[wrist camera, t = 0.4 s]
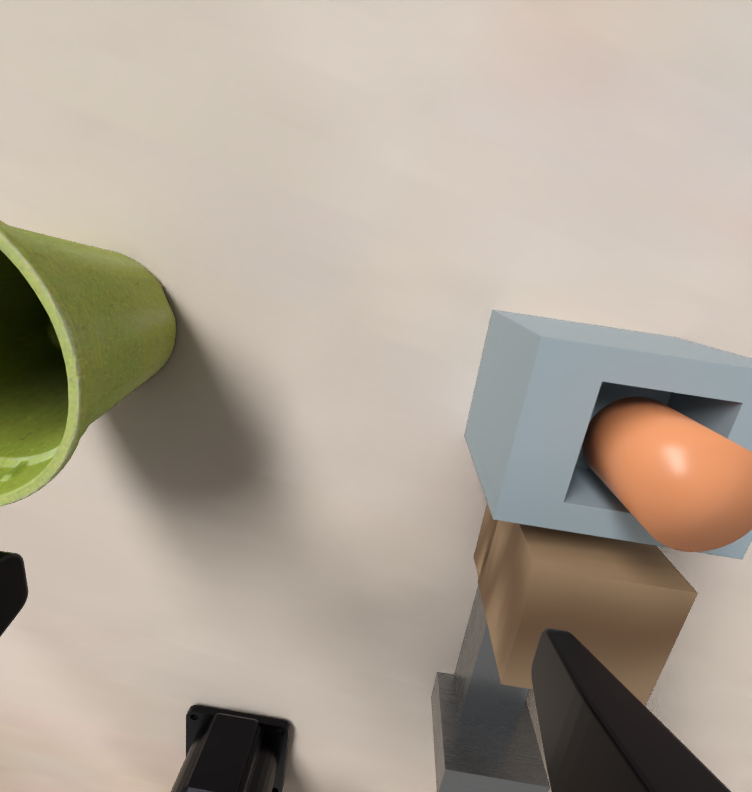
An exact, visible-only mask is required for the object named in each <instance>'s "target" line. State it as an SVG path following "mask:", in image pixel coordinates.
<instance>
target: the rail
mask: <svg viewBox="0 0 752 792" xmlns="http://www.w3.org/2000/svg"><path fill="white" fill-rule="evenodd" d="M528 691H529V689H527V688H521V687H515V686H509V685H503V684H501V682H500V677H499V673H498V668H497V664H496V660H495V655H494V651H493V646H492V642H491V638H490V633H489V629H488V624H487V620H486V616H485V611H484V607H483V602H482V598H481V594H480V589H479V585H478V588H477V592H476V596H475V600H474V603H473V607H472V611H471V615H470V618H469V622H468V626H467V630H466V633H465V637H464V641H463V645H462V648H461V652H460V656H459V660H458V663H457V667H456V671H455V675H450V674H444V673H438V672H437V676H436V680H435V684H434V688H433V692H432V696H431V700H432V717H433V733H434V750H435V767H436V783H437V792H548V791H549V788H550V786H549V782H548V779H547V775H546V772H545V768H544V764H543V761H542V757H541V753H540V750H539V746H538V743H537V739H536V735H535V732H534V728H533V724H532V721H531V717H530V714H529V710H528V706H527V703H526V697H527V694H528Z"/></svg>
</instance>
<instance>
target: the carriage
mask: <svg viewBox="0 0 752 792" xmlns="http://www.w3.org/2000/svg"><path fill="white" fill-rule="evenodd" d="M474 560H475V564H476V569H477V573H478V577H479V579H478V585H479V589H480V594H481V598H482V602H483V607H484V611H485V616H486V620H487V624H488V629H489V633H490V638H491V642H492V646H493V651H494V655H495V660H496V664H497V668H498V673H499V677H500V682H501V684H503V685H509V686H515V687H521V688H527V689H533V685H532V678H531V668H532V662H533V659H534V655H535V652H536V648H537V645H538V642H539V638H540V635H541V633H542V631H543V630H544V629H546V628H552V629H559V630H566V631H568V632H570V633H572V634H573V635H574V636H575V637H576V638H577V639H578V640H579V641H580V642H581V643H582V644H583V645H584V646H585V647H586V648H587V649H588V650H589V651H590V652H591V653H592V654H593V655H594V656H595V657H596V658H597V659H598V660H599V661H600V662H601V663H602V664H603V665H604V666H605V667H606V668H607V669H608V670H609V671H610V672H611V673H612V674H613V675H614V676H615V677H616V678H617V679H618V680H619V681H620V682H621V683H622V684H623V685H624V686H625V687H626V688H627V689H628V690H629V691H630V692H631V693H632V694H633V695H634V696H635V697H636V698H637V699H638V700H639V701H640V702H641V703H642V704H643V705H644V706H645V705H646V703H647V701H648V699H649V697H650V695H651V693H652V690H653V688H654V686H655V684H656V682H657V680H658V678H659V675H660V673H661V671H662V669H663V667H664V665H665V663H666V660H667V658H668V656H669V654H670V652H671V650H672V648H673V645H674V643H675V641H676V639H677V637H678V635H679V633H680V630H681V628H682V626H683V624H684V622H685V620H686V618H687V616H688V613H689V611H690V609H691V607H692V605H693V603H694V601H695V598H696V596H697V594H698V593H697V592H696V590H695V589H694V588H693V587H692V586H691V585H690V584H689V583H688V581H687V580H686V579H685V578H684V577H683V576H682V575H681V574H680V572H679V571H678V570H677V569H676V568H675V567H674V566H673V565H672V563H671V562H670V561H669V560H668V559H667V558H666V557H665V555H664V554H663V553H662V552H661V551H660V550H659V549H658V548H657V546H655V545H649V544H643V543H636V542H630V541H624V540H618V539H612V538H605V537H599V536H593V535H587V534H581V533H574V532H568V531H562V530H556V529H549V528H543V527H537V526H531V525H525V524H518V523H512V522H506V521H500V520H494V519H493V517H492V514H491V512H490V509H489V506H488V503H487V507H486V511H485V514H484V518H483V522H482V526H481V530H480V534H479V538H478V542H477V546H476V550H475V554H474Z"/></svg>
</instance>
